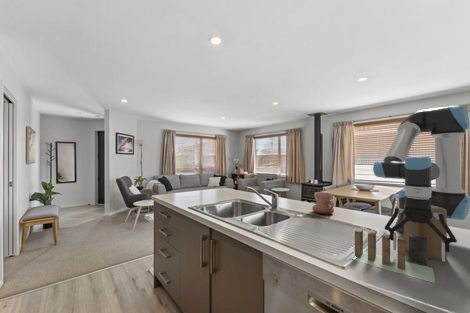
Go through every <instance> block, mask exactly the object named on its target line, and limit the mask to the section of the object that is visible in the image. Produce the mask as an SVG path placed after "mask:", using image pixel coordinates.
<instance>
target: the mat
mask: <svg viewBox="0 0 470 313" xmlns="http://www.w3.org/2000/svg"><path fill="white" fill-rule="evenodd" d="M350 251H353V252H355V247H350V249H349V250H348V251H347V253H348V252H350ZM363 251H364V252H363V254H362V256H361V258H358V257H357V258H356V259H354V260H353V261H354V262H358V263H362V264H367V265H369V266H373V267H376V268H380V269H384V270H387V271H391V272H395V273H398V274H401V275H404V276H407V277H412V278H416V279H419V280H422V281H426V282H430V283H433V284H436V280H435V273H434V268H433V267H429V266H426V265H422V264H418V263H414V262H410V261H406V260H405V270H402V269H398V258H395V257H394V258H393V257H390V263H389V266H387V265H384V264H382V254H377V253H376V258H375V261H374V262H373V261H369V260H368V251H365V250H363Z"/></svg>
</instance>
